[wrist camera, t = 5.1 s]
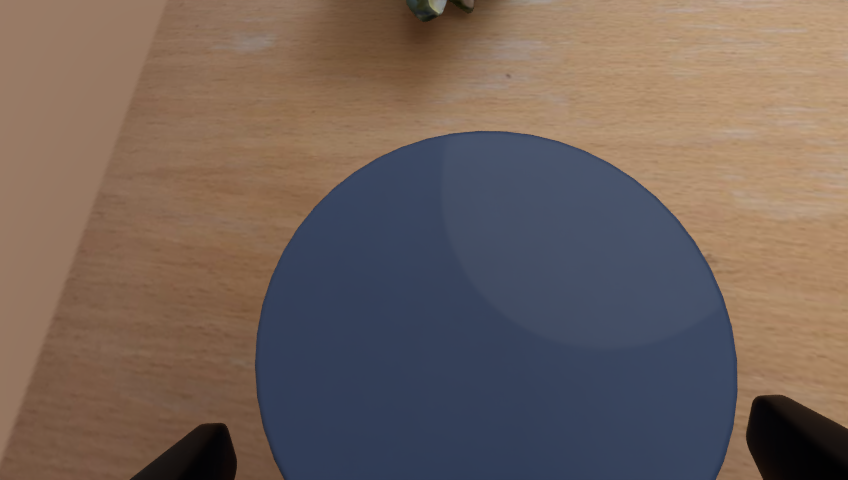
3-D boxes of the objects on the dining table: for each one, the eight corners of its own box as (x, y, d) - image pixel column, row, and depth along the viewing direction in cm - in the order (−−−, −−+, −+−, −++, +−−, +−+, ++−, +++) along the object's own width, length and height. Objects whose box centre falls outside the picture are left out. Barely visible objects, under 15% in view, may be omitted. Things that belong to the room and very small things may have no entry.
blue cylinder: (511, 544, 16) (624, 759, 5) (356, 443, 17) (156, 422, 6) (587, 377, 17) (805, 241, 6) (440, 298, 19) (405, 71, 8)
